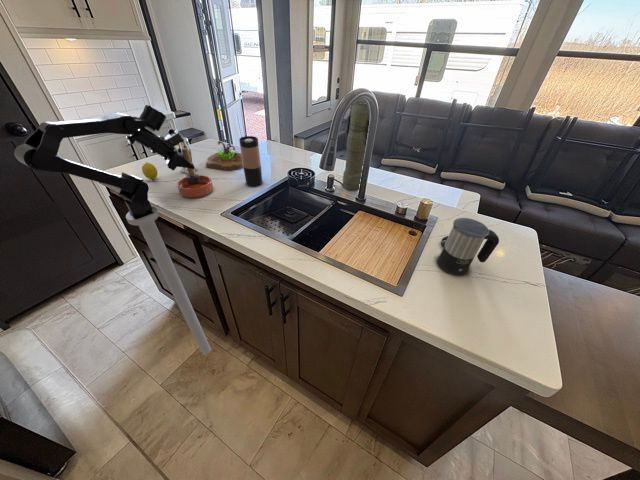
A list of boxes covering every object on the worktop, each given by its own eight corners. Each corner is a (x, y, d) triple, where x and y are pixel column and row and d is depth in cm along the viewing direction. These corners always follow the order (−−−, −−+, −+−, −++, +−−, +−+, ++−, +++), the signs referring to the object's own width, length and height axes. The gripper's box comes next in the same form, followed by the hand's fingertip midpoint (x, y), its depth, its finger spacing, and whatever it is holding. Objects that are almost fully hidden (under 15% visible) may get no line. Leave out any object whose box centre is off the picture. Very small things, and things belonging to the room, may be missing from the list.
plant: (215, 154, 142) (211, 134, 135) (250, 156, 142) (247, 136, 135) (201, 169, 127) (195, 146, 120) (240, 171, 126) (236, 149, 119)
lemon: (162, 178, 117) (156, 162, 112) (150, 183, 113) (143, 166, 108) (155, 175, 119) (149, 159, 114) (143, 180, 115) (136, 162, 110)
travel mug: (255, 178, 121) (250, 134, 109) (266, 183, 118) (261, 139, 105) (242, 183, 117) (235, 138, 104) (253, 188, 113) (246, 143, 100)
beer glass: (182, 168, 126) (172, 137, 117) (197, 167, 128) (188, 136, 119) (180, 174, 121) (170, 142, 112) (196, 173, 123) (187, 141, 114)
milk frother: (448, 278, 75) (469, 239, 66) (418, 245, 87) (432, 207, 77) (487, 270, 78) (512, 231, 69) (453, 239, 90) (470, 202, 81)
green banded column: (359, 193, 113) (372, 107, 92) (336, 186, 118) (343, 102, 96) (367, 186, 119) (381, 103, 98) (345, 179, 124) (354, 99, 102)
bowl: (190, 202, 102) (186, 192, 99) (174, 191, 108) (170, 181, 105) (219, 191, 110) (217, 181, 107) (203, 181, 116) (200, 172, 114)
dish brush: (191, 186, 104) (181, 151, 95) (185, 182, 106) (175, 148, 97) (202, 182, 107) (194, 148, 98) (196, 178, 109) (187, 145, 100)
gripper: (167, 130, 84) (209, 158, 95) (163, 117, 97) (201, 143, 108) (149, 157, 86) (192, 181, 97) (147, 141, 98) (186, 164, 110)
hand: (193, 166), depth 103 cm, fingers closed on dish brush, 2 cm apart
